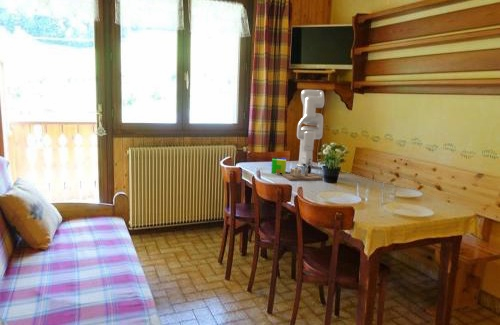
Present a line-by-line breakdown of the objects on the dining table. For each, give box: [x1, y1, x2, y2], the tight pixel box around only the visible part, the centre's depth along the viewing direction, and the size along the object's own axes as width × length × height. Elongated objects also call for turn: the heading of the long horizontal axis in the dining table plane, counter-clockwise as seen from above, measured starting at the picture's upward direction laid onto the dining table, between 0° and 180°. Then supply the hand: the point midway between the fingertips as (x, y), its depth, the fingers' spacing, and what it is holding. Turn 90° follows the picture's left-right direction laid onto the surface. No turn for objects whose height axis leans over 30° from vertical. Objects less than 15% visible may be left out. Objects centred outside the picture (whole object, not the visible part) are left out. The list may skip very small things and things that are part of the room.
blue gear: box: [301, 166, 307, 173], centre depth 287 cm, size 7×7×5 cm
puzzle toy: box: [271, 156, 287, 175], centre depth 285 cm, size 10×10×10 cm
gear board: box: [281, 166, 323, 182], centre depth 271 cm, size 14×24×8 cm, turn 105°
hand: (306, 172), depth 287 cm, fingers open, 7 cm apart
